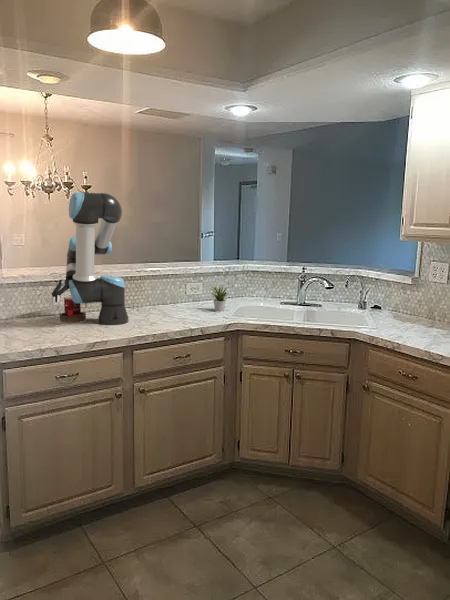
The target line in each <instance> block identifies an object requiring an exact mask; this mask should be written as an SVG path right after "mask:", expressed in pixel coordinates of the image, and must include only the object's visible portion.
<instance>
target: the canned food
mask: <svg viewBox="0 0 450 600" xmlns="http://www.w3.org/2000/svg"><path fill="white" fill-rule="evenodd" d="M63 305H64V308H63V309H64V313H65V316H68V317H69V316H80V315H81V312H82V311H81V303H74V302H73V300H72V297H71V295H65V296H64V297H63Z"/></svg>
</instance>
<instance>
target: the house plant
mask: <svg viewBox="0 0 450 600" xmlns="http://www.w3.org/2000/svg"><path fill="white" fill-rule="evenodd" d="M221 285H222V284H219V288H218V287H217V285H213V286H212V285H210V287H211V291H213V292H211V293H210V295H211V296H212V297H213V298H215V299H213V305H214V311H215V312H217V311H223V312H225V308H226V302H227V299H225V297H226V298H228V292H226V290H227V289H228V288H229V287H230V285H228V286H227V287H226V288H224V287H223V286H224V285H222V286H221ZM223 289H224V290H223Z"/></svg>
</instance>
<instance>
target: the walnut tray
mask: <svg viewBox="0 0 450 600" xmlns="http://www.w3.org/2000/svg"><path fill="white" fill-rule="evenodd" d="M86 320H87V314H86V312H84V311H81V315H80V316H69V317H68V316H65V312H61V313H59V321H60V322H61V323H69V324H70V323H73V324H74V323H80V322H85V321H86Z"/></svg>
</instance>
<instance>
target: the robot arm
mask: <svg viewBox="0 0 450 600" xmlns="http://www.w3.org/2000/svg"><path fill="white" fill-rule="evenodd" d="M122 215H123V209H122V206H121V202H119V201H118V199H117V198H116V197H114V196H113V195H111V194H110V193H106V192H104V193H103V192H84V191H83V192H74V193H73V194H71V196H70V198H69V203H68V216H69V218H70V219H71V220H72V223H73V224H74V225H75V236H72V237H71V238H70V239H69V243H68V249H67V253H66V269H65V272H66V273H65V280H62V279H59V281H58V284H56V287H55V288H54V289H53V291H52V292H51V297H53V298H55V299H54V302H55V303H56V307H57V309H59V310H60V302H61V301H60V298H61V296H62V295H63V294H64V293H65V292H66V291H68V290H69V291H70V296H71V297H72V300H73V302H74V303H80V304H83V305H84V308H85V309H87V308H88V304H92V303H93V304H95V303H100V304H101V306H100V311H99V314H98V317H97V322H98V323H99V324H101V325H123V324H126V323H128V322H129V315H128V312H127V309H126V304H125V303H126V301H125V300H126V299H125V295H126V293H125V288H126V286H125V279H123V278H122V277H120V276H113V275H100V277H99V278H98V275H96V273H95V255H110V254H111V253H112V250H113V245H112V242H111V239H112V236H113V234H114V231H115V229H116V226H117V223H119V222H120V220H121V218H122ZM99 219H100V222H99ZM98 224H99V226H98V228H97V232H96V231H95V230H96V226H97V225H98ZM62 286H63V287H62Z"/></svg>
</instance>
